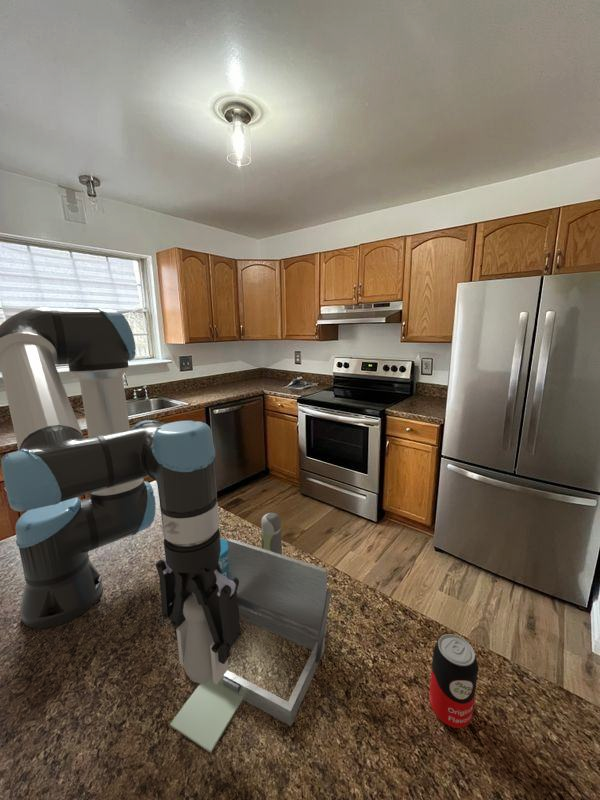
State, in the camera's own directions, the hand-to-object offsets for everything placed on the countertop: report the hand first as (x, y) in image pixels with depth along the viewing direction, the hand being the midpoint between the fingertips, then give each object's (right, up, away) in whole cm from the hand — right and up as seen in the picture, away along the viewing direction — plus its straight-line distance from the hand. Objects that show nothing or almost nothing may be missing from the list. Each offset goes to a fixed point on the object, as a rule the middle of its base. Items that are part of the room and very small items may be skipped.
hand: (204, 665), depth 52 cm
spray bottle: (+9, -4, +26) cm, 28 cm away
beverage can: (+39, -9, +2) cm, 40 cm away
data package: (-4, -4, +25) cm, 26 cm away
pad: (0, -9, +2) cm, 9 cm away
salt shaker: (0, -1, 0) cm, 1 cm away
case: (+7, -7, +11) cm, 15 cm away
